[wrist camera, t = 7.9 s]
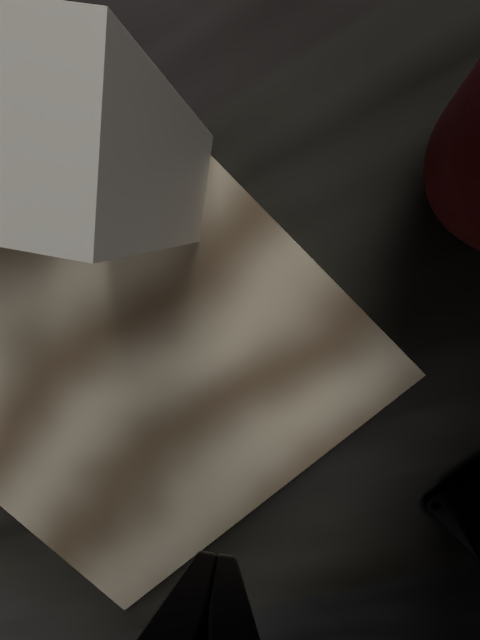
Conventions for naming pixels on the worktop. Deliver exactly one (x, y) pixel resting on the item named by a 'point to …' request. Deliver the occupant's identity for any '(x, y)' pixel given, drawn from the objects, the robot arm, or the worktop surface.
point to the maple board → (176, 389)
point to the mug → (457, 163)
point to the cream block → (92, 139)
